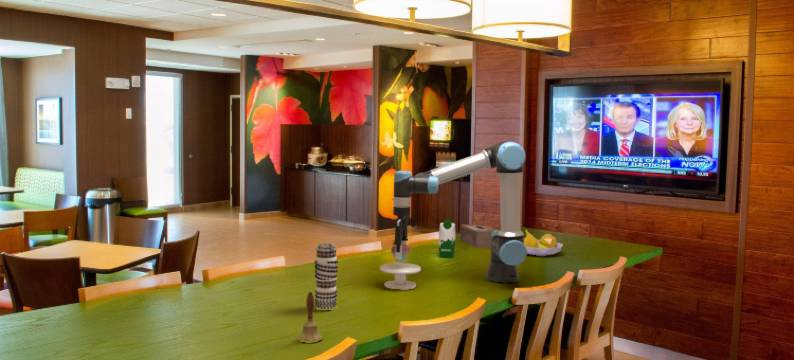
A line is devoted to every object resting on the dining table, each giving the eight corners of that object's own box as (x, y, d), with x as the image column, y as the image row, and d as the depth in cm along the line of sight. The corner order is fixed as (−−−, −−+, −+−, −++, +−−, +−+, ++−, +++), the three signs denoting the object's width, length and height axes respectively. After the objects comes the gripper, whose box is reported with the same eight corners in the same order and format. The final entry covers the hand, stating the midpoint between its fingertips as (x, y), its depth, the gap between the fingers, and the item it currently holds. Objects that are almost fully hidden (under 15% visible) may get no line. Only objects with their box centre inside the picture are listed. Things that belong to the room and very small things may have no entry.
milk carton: (438, 258, 355) (439, 221, 353) (438, 254, 364) (439, 218, 362) (454, 258, 354) (455, 221, 352) (454, 255, 363) (455, 219, 361)
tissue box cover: (460, 240, 410) (460, 224, 409) (482, 239, 414) (482, 224, 413) (476, 248, 385) (476, 231, 385) (499, 247, 389) (499, 230, 388)
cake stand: (423, 283, 300) (424, 264, 299) (416, 292, 282) (416, 273, 282) (385, 280, 304) (385, 261, 303) (375, 289, 286) (375, 270, 286)
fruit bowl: (567, 259, 359) (568, 238, 358) (517, 258, 360) (518, 237, 359) (556, 249, 387) (557, 230, 386) (510, 248, 388) (510, 229, 387)
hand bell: (292, 340, 220) (292, 292, 218) (310, 333, 226) (310, 288, 225) (310, 345, 214) (310, 297, 213) (327, 339, 221) (328, 292, 220)
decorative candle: (338, 305, 262) (339, 242, 259) (337, 311, 252) (337, 247, 250) (315, 304, 261) (315, 242, 259) (312, 311, 252) (313, 246, 250)
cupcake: (393, 262, 287) (394, 235, 286) (388, 258, 295) (389, 232, 294) (412, 262, 289) (413, 234, 288) (407, 258, 297) (407, 231, 296)
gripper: (398, 203, 301) (397, 252, 303) (387, 208, 280) (386, 261, 283) (415, 203, 299) (413, 253, 301) (405, 209, 279) (403, 262, 281)
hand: (400, 257), depth 292 cm, fingers closed on cupcake, 8 cm apart
